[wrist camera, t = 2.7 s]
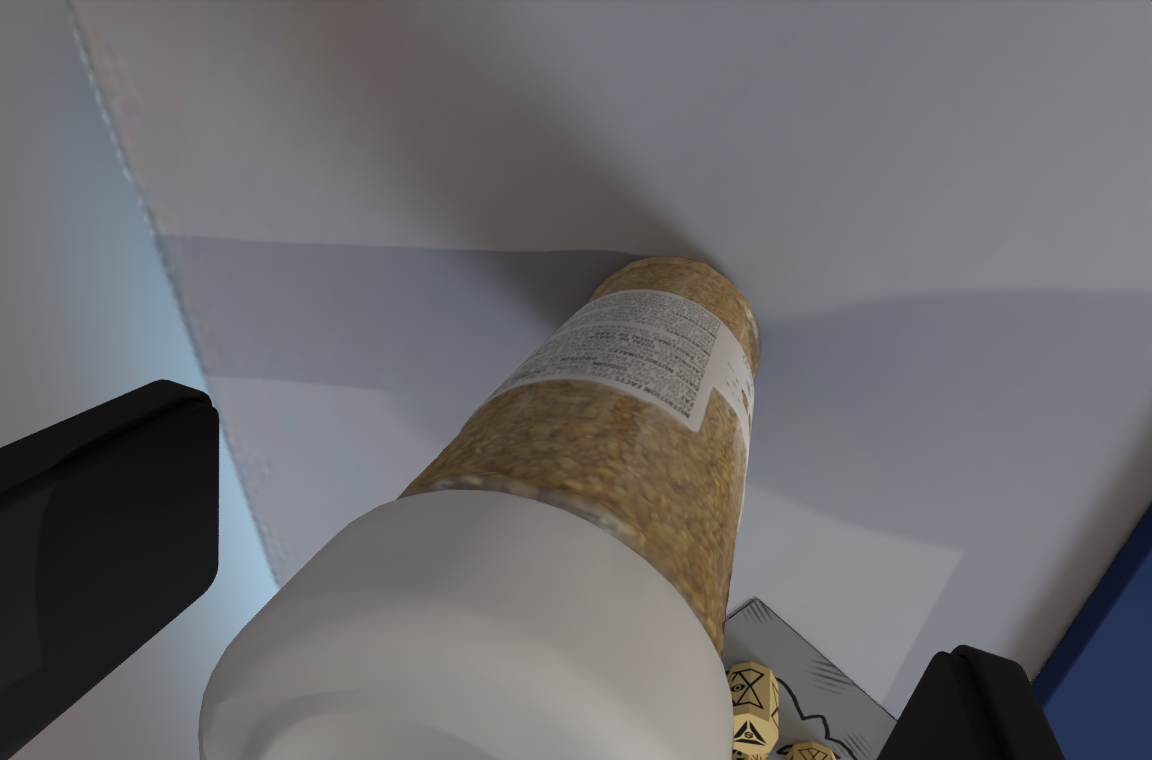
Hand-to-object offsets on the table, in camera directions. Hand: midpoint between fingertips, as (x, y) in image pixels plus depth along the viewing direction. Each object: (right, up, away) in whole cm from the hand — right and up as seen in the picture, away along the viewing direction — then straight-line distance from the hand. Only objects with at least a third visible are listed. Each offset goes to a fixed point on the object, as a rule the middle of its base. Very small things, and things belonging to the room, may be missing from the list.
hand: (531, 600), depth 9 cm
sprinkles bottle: (+3, +4, +9) cm, 10 cm away
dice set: (+6, -9, +13) cm, 17 cm away
